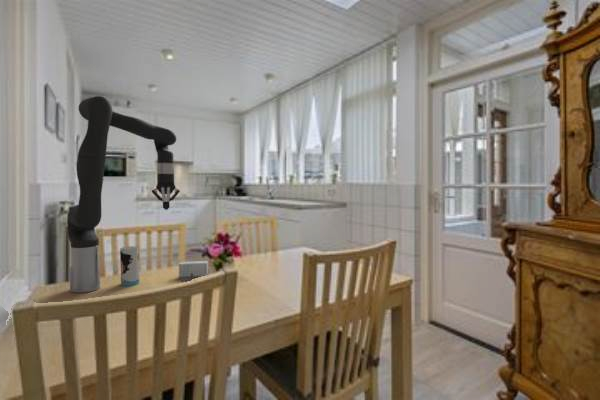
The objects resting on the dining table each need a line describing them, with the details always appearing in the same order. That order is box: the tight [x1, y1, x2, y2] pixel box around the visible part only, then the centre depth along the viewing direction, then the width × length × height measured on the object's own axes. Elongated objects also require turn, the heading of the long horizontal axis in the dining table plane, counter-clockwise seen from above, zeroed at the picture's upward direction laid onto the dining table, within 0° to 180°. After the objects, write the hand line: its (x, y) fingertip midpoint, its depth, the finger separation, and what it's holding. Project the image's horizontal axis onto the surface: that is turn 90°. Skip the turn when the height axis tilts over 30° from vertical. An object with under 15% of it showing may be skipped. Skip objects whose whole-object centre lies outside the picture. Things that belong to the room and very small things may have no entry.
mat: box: [180, 276, 201, 282], centre depth 150 cm, size 12×16×1 cm
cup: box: [119, 245, 140, 287], centre depth 137 cm, size 7×7×15 cm
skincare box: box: [178, 260, 209, 278], centre depth 148 cm, size 6×4×12 cm
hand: (166, 209), depth 158 cm, fingers closed
